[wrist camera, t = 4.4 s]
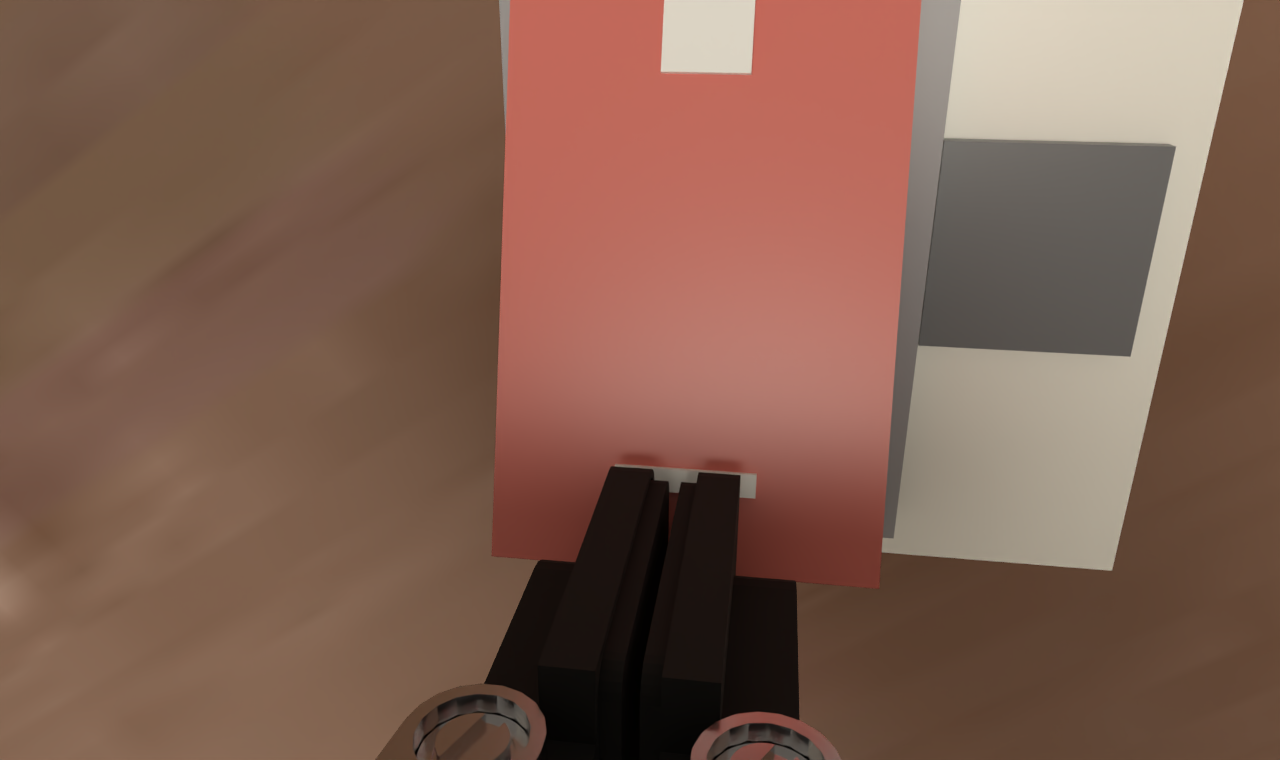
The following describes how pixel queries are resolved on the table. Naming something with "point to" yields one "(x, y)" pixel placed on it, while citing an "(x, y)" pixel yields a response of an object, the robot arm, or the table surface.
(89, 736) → the table surface
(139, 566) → the table surface
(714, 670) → the robot arm
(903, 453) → the power strip
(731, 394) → the rocker
